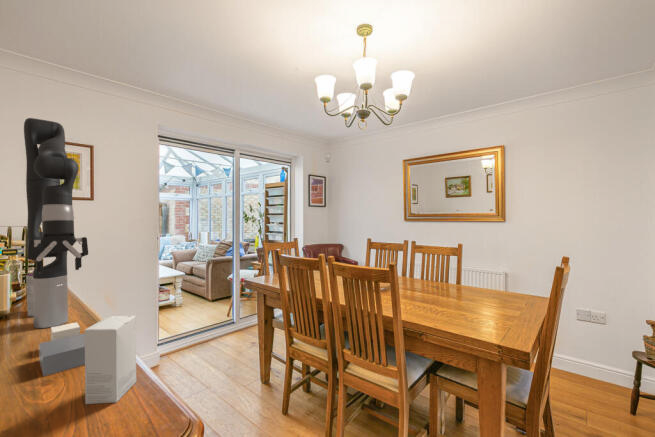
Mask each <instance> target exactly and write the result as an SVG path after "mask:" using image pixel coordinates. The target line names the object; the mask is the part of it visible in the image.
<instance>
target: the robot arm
mask: <svg viewBox="0 0 655 437" xmlns="http://www.w3.org/2000/svg"><path fill="white" fill-rule="evenodd" d="M23 137H24V146H25V156H26V174H25V176H26V177H25V182H26V183H25V186H26V188H25V189H26V204H27V224H26V225H27V227H26V244H25V245H26V254H27V260H30V261H35V267H36V268H35V269H34V270H33V271H32V274H33V302H34V317H33V328H34V329H35V328H36V329H45V328H51V327H56V326H61V325H65V324H66V323H68V322H69V299H68V298H69V294H68V293H69V292H68V252H69V253H71V254H72V255H73V256H74V257H75V258H74V267H75V268H74V269H75V271H78V270H79V271H80V269H81V268H82V258H83V257H86V256H88V255H89V247H88V245H89V244H88V238H87V237H86V236H83V237H77V238H76V236H75V222H74V221H75V216H74V214H75V213H74V207H73V188H74V184H75V183H76V182H75V181H76V179H77V176H78V173H79V164H78V163H77V161H76V160H75V159H74V158H70V157H68V155H67V151H66V134H65V128H64V127H63V125H62V124H61V123H59V122H58V121H57V122H56V121H52V120H45V119H39V118H35V117H34V118H33V117H29V118H25V120H24V123H23ZM38 145H39V147H38ZM61 180H63V183H62V184H61ZM41 226H42V228H41V231H40V227H41ZM76 242H78V244H79V245H81V251H82V252H79V251H78V250H77V249H75V248H76V247H74V245H75V244H76ZM46 258H55V259H54V260H53V261H52V262H50V263H48V264H45V265H43V264H44V262H43V259H46Z"/></svg>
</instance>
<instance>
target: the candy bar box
mask: <svg viewBox="0 0 655 437" xmlns="http://www.w3.org/2000/svg"><path fill="white" fill-rule="evenodd" d="M25 282H26V284H25V286H26V287H25V288H26V308H27V310H26V311H27V317H33V318H34V302H33V273H31V274H30V273H29V274H26V275H25Z"/></svg>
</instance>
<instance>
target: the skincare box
mask: <svg viewBox="0 0 655 437" xmlns="http://www.w3.org/2000/svg"><path fill="white" fill-rule="evenodd" d="M136 319H137V316H136V315H115V316H113V315H111V316H106V317H105V318H103V319H101V320H99V321H98V322H96V323H95V324H93V325H91V326H88V327H87V328H85V329H84V333H85V365H84V382H85V383H84V384H85V385H84V386H85V387H84V388H85V389H84V393H85V394H84V396H85V397H84V399H85V405H94V404H98V405H99V404H113V403H114V404H115V403H118V402H119V401H120V400H121V398H122V397H123V396H125V394H126V393H127V392H128V391H129V390H130V389H131V388H132V387H133V386H134V385H135V384H136V383H137V345H136V344H137V343H136V342H137V339H136V338H137V335H136V333H137V330H136V329H137V328H136V325H137V324H136V322H137V321H136Z"/></svg>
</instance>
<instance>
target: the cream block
mask: <svg viewBox="0 0 655 437" xmlns="http://www.w3.org/2000/svg"><path fill="white" fill-rule="evenodd" d="M79 334H81V326H80V324H79V323H78V322H77V321H76V322H72V323H71V322H70V323H67V324H66V323H65V324H61V325H57V326H53V327H50V341H52V340H56V339H61V338H65V337H70V336H74V335H79Z"/></svg>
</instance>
